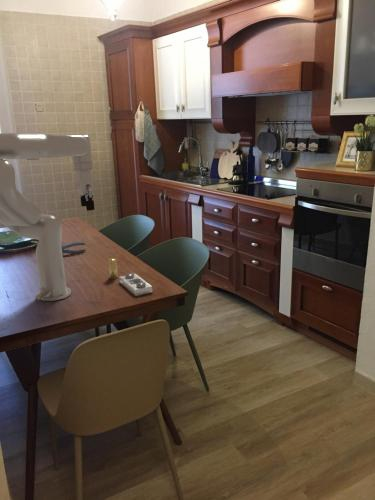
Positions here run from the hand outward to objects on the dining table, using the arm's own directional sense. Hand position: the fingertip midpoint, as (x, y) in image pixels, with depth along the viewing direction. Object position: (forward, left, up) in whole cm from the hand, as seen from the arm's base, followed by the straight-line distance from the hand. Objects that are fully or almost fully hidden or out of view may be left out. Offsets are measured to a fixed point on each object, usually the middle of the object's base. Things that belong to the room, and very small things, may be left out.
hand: (87, 208), depth 181 cm
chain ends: (-12, -23, -30) cm, 39 cm away
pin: (-2, -10, -30) cm, 31 cm away
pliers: (+26, +26, -30) cm, 48 cm away
